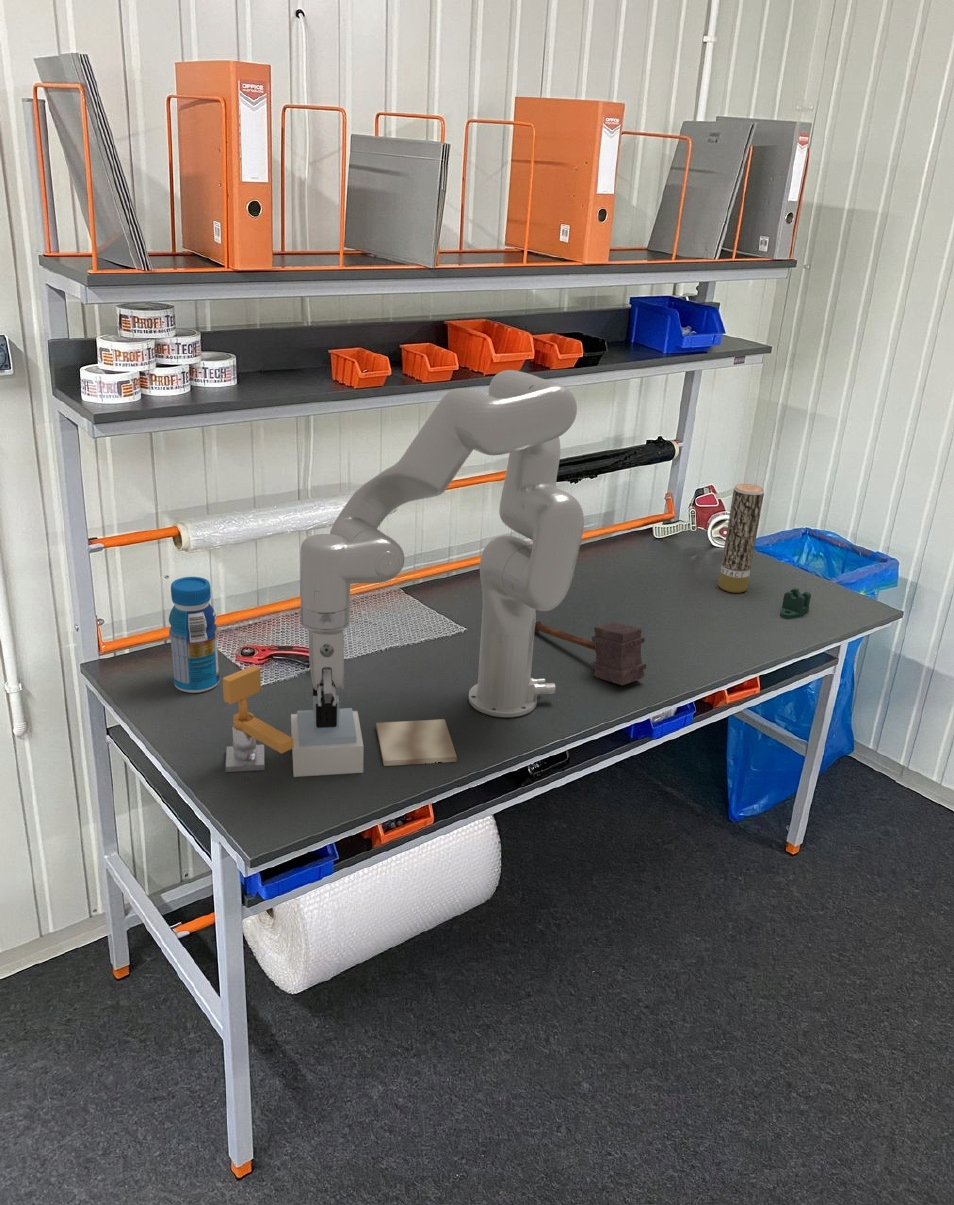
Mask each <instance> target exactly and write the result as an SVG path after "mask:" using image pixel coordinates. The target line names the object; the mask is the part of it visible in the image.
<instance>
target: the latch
mask: <svg viewBox="0 0 954 1205" xmlns="http://www.w3.org/2000/svg"><path fill="white" fill-rule="evenodd" d="M261 680H262V679H261V668H260V667H258V666H256V665H254V664H253V665H251V666H248V667H246V668H244V669H241V670H238V671H236V672H234V673H231V674H229V675H226V676H224V677H222V688H223V689H222V692H223V693H222V694H223V701H224V702H225V703H227V704H229V705H232V704H234V703H236V702H237V705H238V706H237V707H238V712H236V713H235V714H233V716H232V720H233V722H232V723H233V724H234V728H235V729H236V730H239V731H243V732H245V733H247V734H249V735H250V736H252V737H254V738H255V739H256V741H259V742H261V743H262V744H263V745H266V746H268V747H269V748H271V749H273V750H275V751H276V752H278V753H280V754H281V755H282V754H284V753H286V752H288V751H291V750H292V748H294V739H293V738H291V736H289V735H288V734H286V733H284V732H282V731H280V730H279V729H277V728H276V727H273V726H271V725H270V724H268V723H267V722H264V721H263V720H261V719H260V718H257V717H256V716H255V715H254V714H253V713H252V712H249V709H248V698H249V697H251V696H253V695H255V694H257V693H260V692H262V684H261V683H262V682H261ZM233 724H232V725H233Z"/></svg>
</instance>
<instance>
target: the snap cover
mask: <svg viewBox="0 0 954 1205" xmlns="http://www.w3.org/2000/svg"><path fill="white" fill-rule="evenodd" d="M312 696H313V695H312ZM321 697H322V696H321ZM312 701H313V704H312V707H313V708H312V709H310V710H309V709H308V710H305V709H303V710H297V711H296V714H297V720H298V735H299V746H311V745H329V744H347V743H357V736H356V730H355V724H354V718H353V711H354V710H353V708H352V707H347V708H340V699H339V694H336V703H337V726H336V727H328V728H317V727H316V704H318V696H313V697H312Z"/></svg>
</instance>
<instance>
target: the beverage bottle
mask: <svg viewBox="0 0 954 1205" xmlns="http://www.w3.org/2000/svg"><path fill="white" fill-rule="evenodd" d="M170 596H171V601H172V603H173V606H172V608H171V610H170V612H169V615H168V623H169V625H170V627H169V629H168V635H169V639H170V647H171V649H170V650H171V656H172V657H171V658H172V660H171V662H172V669H173V670H172V671H173V685H174V686H175V688H176V689H177V690H179V691H182V692H183V693H184V692H185V693H190V694H195V693H202V692H203V693H205V692H207V691H210V690H212V689H214V688H216V687H217V685H218V684H219V682H220V669H219V657H218V634H219V630H218V626H217V623H216V621H217V614H216V612H215V610H214V608H213V606H212V605H211V604H210V601H211V599H212V597H211V596H212V592H211V584H210V581H209V580H208V579H206V578H204V577H200V576H185V577H181V578H177V579H175V580H174V581H172V583H171V584H170Z"/></svg>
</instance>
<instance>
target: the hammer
mask: <svg viewBox="0 0 954 1205" xmlns="http://www.w3.org/2000/svg"><path fill="white" fill-rule="evenodd" d="M593 630H594V635H593V636H591V640H588V639H585V638H584V637H583V638H582V637H579V636H576V635H573V634H571V633H567V632H565V631H561V630H559V629H556V628H554V627H551V626H547V625H546V624H542V622H541V621H540V620H538V619H537V618H536V622H535V631H534V632H537V633H538V632H542V633H545V635H546V634H547V635H550V636H551V637H555V638H557V639H561V640H564V641H566V642H569V643H572V644H576V645H578V646H581V647H583V648H586V649H591V650H593V651H595V661H593V662H591V663H590V665H591V668H592V669H594V674H593V677H594V676H596V677H595V678H597V679H600V680H604V681H607V682H611V683H613V684H617V685H620V686H624V685H627V684H630V683H633V682H635V681H640V680H641V679H644V678H645V673H644V670H646V669H647V663H644V662H643V659H642V644H643V643H645V641H646V639H645V638H646V637H644V636H642V628H640V627H636V626H633V625H628V624H627V625H626V624H624V623H620V622H615V621H609V622H607V623H604V624H601V625H599V626H597V625H596V626H594V627H593Z"/></svg>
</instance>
